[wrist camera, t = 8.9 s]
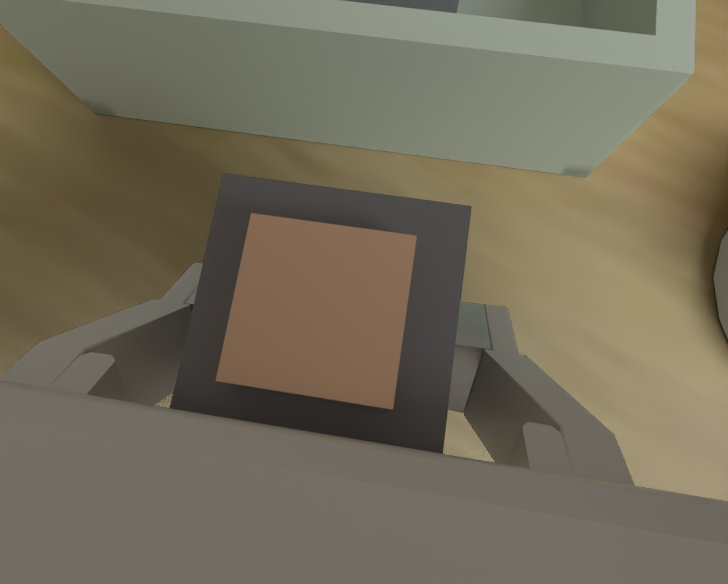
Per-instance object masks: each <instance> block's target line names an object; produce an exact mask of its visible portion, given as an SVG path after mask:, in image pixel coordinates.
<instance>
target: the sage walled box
mask: <svg viewBox="0 0 728 584" xmlns="http://www.w3.org/2000/svg"><path fill="white" fill-rule="evenodd" d="M695 15H696V0H0V25H1V26H2V27H3V28H5V29H6V30H7V31H8V32H9V33H10V34H11V35H12V36H13V37H14V38H15V39H16V40H17V41H18V42H19V43H21V44H22V45H23V46H24V47H25V48H26V49H27V50H28V51H29V52H30V53H31V54H32V55H33V56H34V57H35V58H36V59H38V60H39V61H40V62H41V63H42V64H43V65H44V66H45V67H46V68H47V69H48V70H49V71H50V72H51V73H52V74H54V75H55V76H56V77H57V78H58V79H59V80H60V81H61V82H62V83H63V84H64V85H65V86H66V87H67V88H68V89H70V90H71V91H72V92H73V93H74V94H75V95H76V96H77V97H78V98H79V99H80V100H81V101H82V102H83V103H84V104H86V105H87V106H88V107H89V108H90V109H91V110H92V111H93V112H94V113H95V114H103V115H111V116H118V117H126V118H134V119H141V120H149V121H157V122H164V123H172V124H180V125H187V126H195V127H203V128H210V129H218V130H226V131H233V132H241V133H249V134H256V135H264V136H272V137H279V138H287V139H295V140H302V141H310V142H318V143H325V144H333V145H341V146H348V147H356V148H364V149H371V150H379V151H387V152H394V153H402V154H410V155H417V156H425V157H433V158H440V159H448V160H456V161H463V162H471V163H479V164H486V165H494V166H502V167H509V168H517V169H525V170H532V171H540V172H548V173H555V174H563V175H571V176H578V177H587V176H588V175H589V174H590V173H591V172H592V171H593V170H594V169H595V168H596V167H597V166H598V165H599V164H600V163H601V162H602V161H603V160H604V159H605V158H607V157H608V156H609V155H610V154H611V153H612V152H613V151H614V150H615V149H616V148H617V147H618V146H619V145H620V144H621V143H622V142H623V141H624V140H625V139H626V138H628V137H629V136H630V135H631V134H632V133H633V132H634V131H635V130H636V129H637V128H638V127H639V126H640V125H641V124H642V123H643V122H644V121H645V120H646V119H647V118H649V117H650V116H651V115H652V114H653V113H654V112H655V111H656V110H657V109H658V108H659V107H660V106H661V105H662V104H663V103H664V102H665V101H666V100H667V99H668V98H669V97H671V96H672V95H673V94H674V93H675V92H676V91H677V90H678V89H679V88H680V87H681V86H682V85H683V84H684V83H685V82H686V81H687V80H688V79H689V78H690V77H692V76H693V75H694V61H695Z"/></svg>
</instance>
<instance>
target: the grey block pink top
mask: <svg viewBox="0 0 728 584" xmlns="http://www.w3.org/2000/svg"><path fill="white" fill-rule="evenodd" d="M470 214H471V206H467V205H459V204H451V203H444V202H436V201H429V200H421V199H413V198H406V197H398V196H391V195H383V194H375V193H368V192H360V191H353V190H345V189H338V188H330V187H322V186H315V185H307V184H300V183H292V182H284V181H277V180H269V179H262V178H254V177H246V176H239V175H231V174H224V173H223V177H222V182H221V186H220V191H219V195H218V199H217V204H216V208H215V212H214V217H213V221H212V226H211V230H210V234H209V239H208V243H207V248H206V252H205V256H204V261H203V265H202V270H201V274H200V278H199V283H198V287H197V291H196V296H195V300H194V305H193V309H192V313H191V318H190V322H189V327H188V331H187V335H186V340H185V344H184V348H183V353H182V357H181V362H180V366H179V370H178V375H177V379H176V384H175V388H174V392H173V397H172V401H171V405H170V409H176V410H182V411H188V412H194V413H200V414H206V415H212V416H218V417H224V418H230V419H237V420H243V421H249V422H255V423H261V424H267V425H273V426H279V427H285V428H291V429H297V430H303V431H309V432H315V433H321V434H327V435H333V436H339V437H345V438H351V439H357V440H363V441H369V442H375V443H381V444H387V445H393V446H399V447H405V448H411V449H417V450H423V451H429V452H435V453H441V454H443V446H444V438H445V429H446V420H447V412H448V403H449V395H450V386H451V377H452V369H453V360H454V352H455V343H456V334H457V326H458V317H459V309H460V300H461V291H462V283H463V274H464V265H465V257H466V248H467V240H468V231H469V222H470Z"/></svg>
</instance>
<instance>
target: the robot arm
mask: <svg viewBox="0 0 728 584" xmlns="http://www.w3.org/2000/svg"><path fill="white" fill-rule="evenodd" d="M202 265H203V263H199V262H198V263H193V264H192V265H191V266H190V267H189V268H188V269H187V270H186V271H185V273H184V274H183V275H182V276H181V277H180V278H179V279H178V280H177V281H176V282H175V284H174V285H173V286H172V287H171V288H170V289H169V290H168V291H167V292H166V293H165V295H164V296H163V297H162V298H161V299H160V300H156V299H152V300H149V301H146V302H144V303H141V304H138V305H136V306H133V307H131V308H128V309H125V310H123V311H120V312H117V313H115V314H112V315H109V316H107V317H104V318H101V319H99V320H96V321H93V322H91V323H88V324H85V325H83V326H80V327H77V328H75V329H72V330H69V331H67V332H64V333H62V334H59V335H56V336H54V337H51V338H48V339H46V340H43V341H40V342H39V343H38V344H36V345H35V346H34V347H33V348H32V349H31V350H30V351H28V352H27V353H26V354H25V355H24V356H23V357H22V358H20V359H19V360H18V361H17V362H16V363H15V364H14V365H12V366H11V367H10V368H9V369H8V370H7V371H6V372H4V373H3V374H2V375H1V376H0V584H728V501H723V500H717V499H711V498H705V497H699V496H693V495H687V494H681V493H675V492H669V491H663V490H657V489H651V488H645V487H639V486H635V485H634V482H633V480H632V478H631V475H630V473H629V470H628V468H627V465H626V463H625V460H624V458H623V455H622V453H621V450H620V448H619V445H618V443H617V440H616V438H615V435H614V434H613V433H612V432H611V431H610V430H609V429H607V428H606V427H605V426H604V425H603V424H602V423H601V422H600V421H599V420H597V419H596V418H595V417H594V416H593V415H592V414H591V413H590V412H588V411H587V410H586V409H585V408H584V407H583V406H582V405H581V404H580V403H578V402H577V401H576V400H575V399H574V398H573V397H572V396H571V395H569V394H568V393H567V392H566V391H565V390H564V389H563V388H562V387H561V386H559V385H558V384H557V383H556V382H555V381H554V380H553V379H552V378H550V377H549V376H548V375H547V374H546V373H545V372H544V371H543V370H542V369H540V368H539V367H538V366H537V365H536V364H535V363H534V362H533V361H531V360H530V359H529V358H528V357H527V356H526V355H520V354H519V352H518V348H517V344H516V340H515V335H514V331H513V327H512V323H511V319H510V315H509V311H508V308H506V307H505V306H496V305H487V304H476V303H468V302H460V309H459V317H458V326H457V334H456V343H455V352H454V360H453V369H452V377H451V386H450V395H449V403H448V410H451V411H457V412H462V413H464V416H465V417H466V419H467V420H468V422H469V423H470V425H471V426H472V428H473V429H474V431H475V432H476V434H477V435H478V437H479V438H480V440H481V441H482V443H483V444H484V446H485V447H486V449H487V450H488V452H489V453H490V455H491V457H492V458H493V460H494V461H495V463H494V462H488V461H482V460H476V459H470V458H464V457H458V456H453V455H447V454H441V453H435V452H429V451H423V450H417V449H411V448H405V447H399V446H393V445H387V444H381V443H375V442H369V441H363V440H357V439H351V438H345V437H339V436H333V435H327V434H321V433H315V432H309V431H303V430H297V429H291V428H285V427H279V426H273V425H267V424H261V423H255V422H249V421H243V420H237V419H230V418H224V417H218V416H212V415H206V414H200V413H194V412H188V411H182V410H176V409H170V408H164V407H158V406H154V405H155V404H157V403H158V402H160V401H161V400H163V399H164V398H166V397H167V396H169V395H170V394H172V393H173V392H174V388H175V384H176V379H177V375H178V370H179V366H180V362H181V357H182V353H183V348H184V344H185V340H186V335H187V331H188V327H189V322H190V318H191V313H192V309H193V305H194V300H195V296H196V291H197V287H198V283H199V278H200V274H201V270H202Z"/></svg>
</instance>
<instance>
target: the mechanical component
mask: <svg viewBox="0 0 728 584" xmlns="http://www.w3.org/2000/svg"><path fill="white" fill-rule="evenodd" d="M713 278H714V285H715V292H716V299H717V306H718V313H719V319H720V322H721V324H722V326H723V329H724V331H725V334H726V336H727V339H728V230H727V232H726V234H725V236H724V237H723V239H722V241H721V245H720V249H719V254H718V258H717V263H716V267H715V272H714V276H713Z"/></svg>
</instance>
